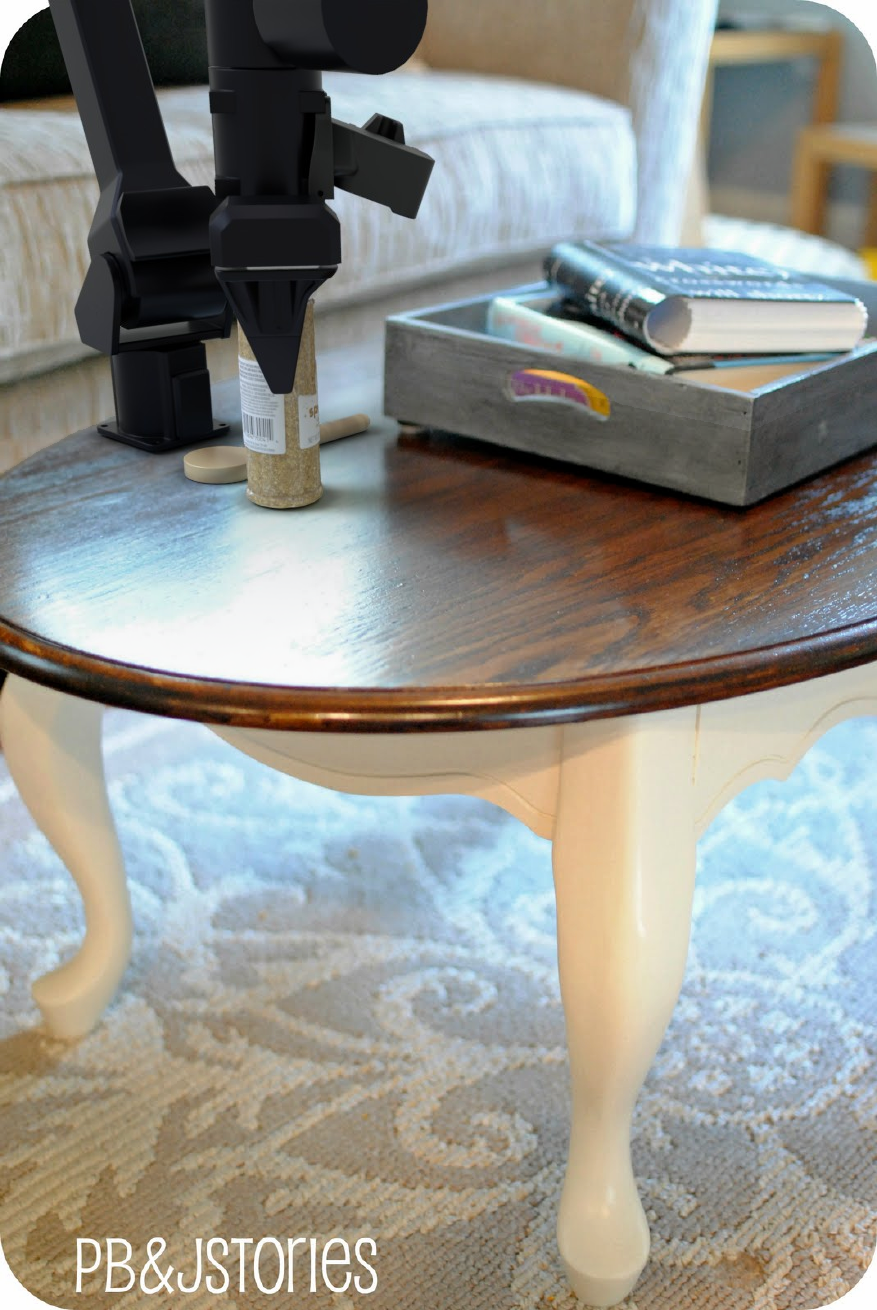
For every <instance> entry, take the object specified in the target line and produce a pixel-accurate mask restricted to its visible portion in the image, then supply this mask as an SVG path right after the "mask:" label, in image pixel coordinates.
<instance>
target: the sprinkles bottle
mask: <svg viewBox="0 0 877 1310" xmlns="http://www.w3.org/2000/svg"><path fill="white" fill-rule="evenodd" d="M317 292H318V289H317V290H316V291H315V292H314V293H313V294H312V295H311V296H310V298H309V300H308V303H307V308H306V314H305V320H304V326H303V332H302V337H301V344H300V350H299V356H298V362H297V368H296V374H295V380H294V386H293V391H292V392H291V393H290V394H273V393H272V392H271V391H270V389H269V387H268V384H267V382H266V380H265V378H264V376H263V373H262V371H261V369H260V367H259V365H258V363H257V360H256V358H255V356H254V354H253V352H252V349H251V347H250V345H249V343H248V341H247V338H246V336H245V335H244V332H243V330H242V328H241V326H240V324H239V322H238V320H237V319H236V321H237V336H238V338H237V339H238V355H237V359H238V374H239V392H240V407H241V420H242V437H243V443H244V446H246V463H247V476H248V479H247V486H246V487H245V494H246V498H247V499H248V500H249V501H250V502H252V503H254V504H256V505H257V506H262V507H266V508H273V509H291V508H300V507H305V506H308V505H310V504H312V503H315V502H316V501H318V500H320V498H322V496H323V494H324V484H323V483H322V475H321V453H320V452H321V450H320V444H319V441H320V426H319V425H320V411H319V390H318V387H319V386H318V366H317V365H318V363H317V359H316V342H315V341H316V339H315V335H316V332H315V320H314V319H315V315H314V305H315V303H316V300H315V299H314V298H315V297H316V296H317Z"/></svg>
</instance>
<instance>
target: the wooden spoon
mask: <svg viewBox="0 0 877 1310" xmlns="http://www.w3.org/2000/svg"><path fill="white" fill-rule="evenodd" d="M319 426H320V441H319V445H322V444H325V443H328V442H331V441H336V440H338V439H342V438H345V437H348V436H352V435H356V434H359V433H362V432H365V431H367V430H368V429H369V428H370V426H371V419H370V417H369V416H368V415H367V414H365V413H356V414H353V415H349V416H345V417H341V418H338V419H334V420H331V421H328V422H324V423H319ZM183 471H184V475H185V477H186V478H187V479H189V480H191V481H194V482H197V483H203V484H216V485H218V484H233V483H238V482H241V481H245V480H248V476H247V463H246V446H245V445H244V446H232V445H231V446H230V445H229V446H228V445H217V446H208V447H203V448H198V449H195V450H193V451H190V452H188V453H186V454H185V455H184V457H183Z"/></svg>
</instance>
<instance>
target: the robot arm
mask: <svg viewBox="0 0 877 1310" xmlns="http://www.w3.org/2000/svg"><path fill="white" fill-rule="evenodd" d="M203 1H204V2H203V3H204V19H205V35H206V48H207V51H206V52H207V63H208V64H207V65H208V67H207V68H208V82H209V83H208V84H209V90H208V104H209V114H211V130H212V145H213V159H214V160H213V161H214V162H213V163H214V179H213V180H214V181H213V182H214V191H213V190H212V189H211V187H210V186H209V185H207V184H205V185H192V184H191V183H190V182H189V181H188V180H187V179H186V178H185V177H184V176H183V174H181V173H180V172H179V171H178V169H177V167H176V164H175V161H174V160H175V159H174V156H173V153H172V149H171V146H170V142H169V139H168V134H167V130H166V127H165V126H166V125H165V123H164V119H163V116H162V112H161V107H160V105H159V102H158V97H157V93H156V91H155V86H154V82H153V79H152V75H151V71H150V67H149V64H148V60H147V56H146V52H145V49H144V45H143V41H142V38H141V34H140V30H139V27H138V23H137V19H136V16H135V12H134V8H133V4H132V1H131V0H47V2H48V5H49V9H50V13H51V17H52V20H53V23H54V24H53V25H54V27H55V28H54V29H55V31H56V34H57V38H58V42H59V46H60V50H61V53H62V57H63V60H64V64H65V67H66V71H67V75H68V78H69V82H70V85H71V89H72V92H73V93H72V94H73V96H74V100H75V104H76V107H77V111H78V114H79V118H80V123H81V126H82V129H83V133H84V136H85V140H86V144H87V147H88V151H89V152H88V153H89V155H90V158H91V162H92V166H93V169H94V173H95V177H96V180H97V184H98V188H99V189H98V190H99V198H98V200H97V205H96V208H95V212H94V214H93V218H92V221H91V225H90V228H89V231H88V235H87V239H86V242H87V244H86V245H87V248H88V253H89V258H90V264H89V265H88V269H87V272H86V274H85V278H84V280H83V283H82V286H81V289H80V292H79V295H78V297H77V300H76V303H75V306H74V308H73V309H74V310H73V313H74V317H75V321H76V325H77V326H76V327H77V330H78V334H79V339H80V342H81V343H82V344H84V345H86V346H87V347H89V348H92V349H94V350H96V351H98V352H101V353H103V354H104V355H107V356H109V364H110V365H109V366H110V375H111V376H110V377H111V385H112V393H113V405H114V414H115V420H112V421H109V422H105V423H101V424H97V425H96V432H97V434H99V435H102V436H104V437H108V438H111V439H113V440H117V441H120V442H122V443H125V444H127V445H128V444H129V445H131V446H134V447H137V448H140V449H143V450H146V451H149V452H160V451H164V450H168V449H172V448H175V447H180V446H183V445H186V444H190V443H193V442H198V441H201V440H205V439H208V438H212V437H216V436H219V435H223V434H227V433H230V432H231V424H230V423H229V422H226V421H221V420H219V419H215V418H214V413H213V411H214V410H213V399H212V385H211V384H212V383H211V372H210V370H209V368H208V358H207V357H208V355H207V344H206V343H205V342H203V341H211V340H217V339H220V340H226V339H227V340H228V339H230V338H231V335H232V334H231V333H232V325H233V320H234V319H233V318H234V315H235V317H236V321H237V320H238V322H239V324H240V326H241V328H242V330H243V332H244V335H245V336H246V338H247V341H248V343H249V345H250V347H251V349H252V352H253V354H254V356H255V358H256V360H257V363H258V365H259V367H260V369H261V371H262V373H263V376H264V378H265V380H266V382H267V384H268V387H269V389H270V391H271V392H272V393H273V394H290V393H291V392H292V391H293V386H294V380H295V374H296V368H297V362H298V356H299V350H300V344H301V337H302V332H303V326H304V320H305V314H306V308H307V303H308V300H309V298H310V296H311V295H312V294H313V293H314V292H315V291H316V290H317V291H318V289H319V288H320V287H321V286H323V284H325V282H326V281H328V280H329V279H332V278H333V277H334V276H335V275H336V274H337V272H338V270H339V265H340V264H342V262H343V261H342V260H343V259H342V228H341V227H342V225H341V224H342V223H341V222H340V219H339V216H338V214H337V212H335V211H334V210H333V209H332V208H331V207H330V206H329V204H328V203H326V201H327V200H329V201H332V200H335V188H337V189H339V190H341V191H344V192H347V193H349V194H352V195H354V196H357V197H360V198H363V199H365V200H368V201H371V202H374V203H376V204H378V205H382V206H385V207H387V208H389V209H390V211H391V213H392V214H395V215H397V216H401V217H403V218H406V219H411V220H416V219H417V216H418V214H419V211H420V207H421V204H422V202H423V200H424V199H423V198H424V196H425V193H426V190H427V187H428V184H429V181H430V179H431V175H432V173H433V169H434V166H435V163H436V160H435V159H434V158H433V157H431V155H429V154H428V153H426V152H424V151H422V150H420V149H419V148H417V147H414V146H410V145H408V144H406V137H405V129H404V124H403V123H402V122H401V121H399V120H397V119H395V118H391V117H389V116H386V115H384V114H381V113H379V112H374V113H373V115H371V116H370V117H369V119H367V120H366V122H365V123H364V124H363V125H362V126H361V127H359V126H357V125H355V124H354V123H350V122H349V123H348V122H346V121H342V120H339V119H337V118H334V117H332V99H331V96H330V95H328V92H327V91H325V90H324V88H323V72H328V73H330V72H331V73H341V74H355V75H367V76H382V75H386V74H389V73H391V72H395V71H396V70H397V69H399V68H401V67H402V66H404V65H405V64H406V63H407V62H408V61H409V59H411V57H413V55H414V54H415V53H416V51H417V49H418V47H419V45H420V43H421V41H422V40H423V36H424V34H425V29H426V27H427V20H428V13H429V11H428V10H429V0H203Z"/></svg>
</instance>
